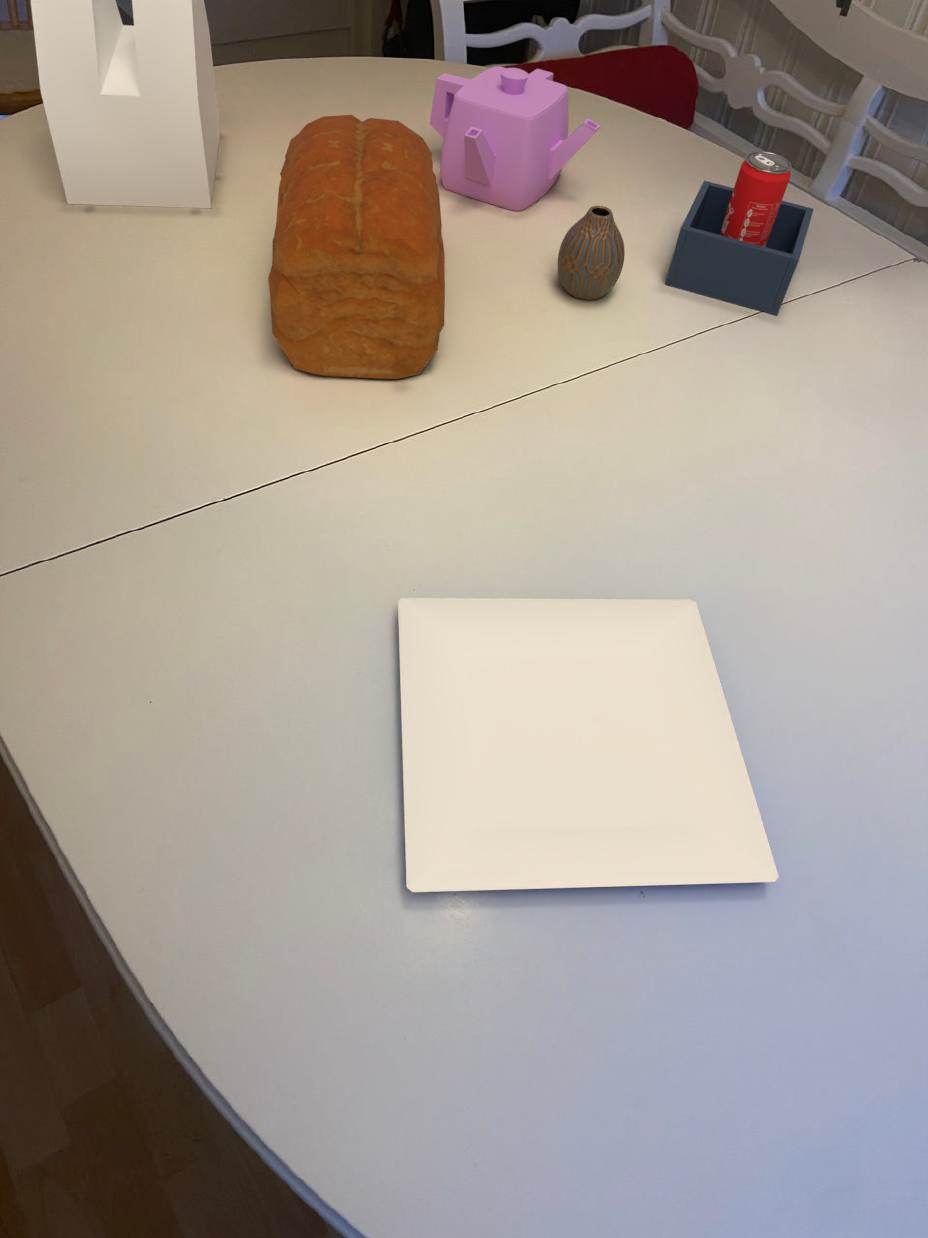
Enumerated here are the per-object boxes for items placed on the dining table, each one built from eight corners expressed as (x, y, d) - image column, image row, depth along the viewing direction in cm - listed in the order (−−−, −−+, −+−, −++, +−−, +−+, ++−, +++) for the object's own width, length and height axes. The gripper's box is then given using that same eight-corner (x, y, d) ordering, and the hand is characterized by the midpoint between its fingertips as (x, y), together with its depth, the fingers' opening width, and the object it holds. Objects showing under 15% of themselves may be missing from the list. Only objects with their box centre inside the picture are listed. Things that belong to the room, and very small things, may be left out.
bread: (434, 239, 104) (444, 88, 92) (444, 384, 87) (458, 221, 75) (288, 231, 102) (279, 76, 90) (269, 377, 85) (255, 209, 73)
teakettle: (537, 145, 122) (552, 40, 113) (591, 207, 113) (613, 98, 103) (415, 153, 118) (420, 45, 108) (460, 219, 108) (470, 106, 98)
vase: (546, 298, 98) (559, 218, 92) (560, 267, 103) (575, 188, 96) (609, 313, 98) (627, 234, 91) (621, 281, 102) (640, 203, 95)
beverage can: (733, 285, 103) (770, 176, 93) (700, 263, 105) (733, 155, 96) (764, 274, 105) (804, 167, 96) (731, 252, 107) (767, 146, 98)
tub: (792, 262, 108) (814, 208, 103) (777, 315, 100) (798, 259, 95) (688, 234, 110) (704, 180, 105) (664, 284, 102) (680, 227, 97)
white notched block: (92, 127, 114) (39, -127, 95) (220, 133, 116) (193, -115, 97) (67, 203, 102) (1, -71, 83) (211, 208, 104) (179, -58, 85)
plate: (396, 613, 69) (398, 595, 67) (688, 615, 71) (696, 597, 70) (405, 905, 54) (406, 890, 53) (770, 894, 57) (781, 880, 55)
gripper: (1061, -200, 76) (967, 24, 88) (885, -225, 79) (817, -3, 91) (1067, -185, 71) (966, 49, 84) (879, -212, 74) (808, 19, 86)
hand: (888, 22), depth 87 cm, fingers open, 8 cm apart
